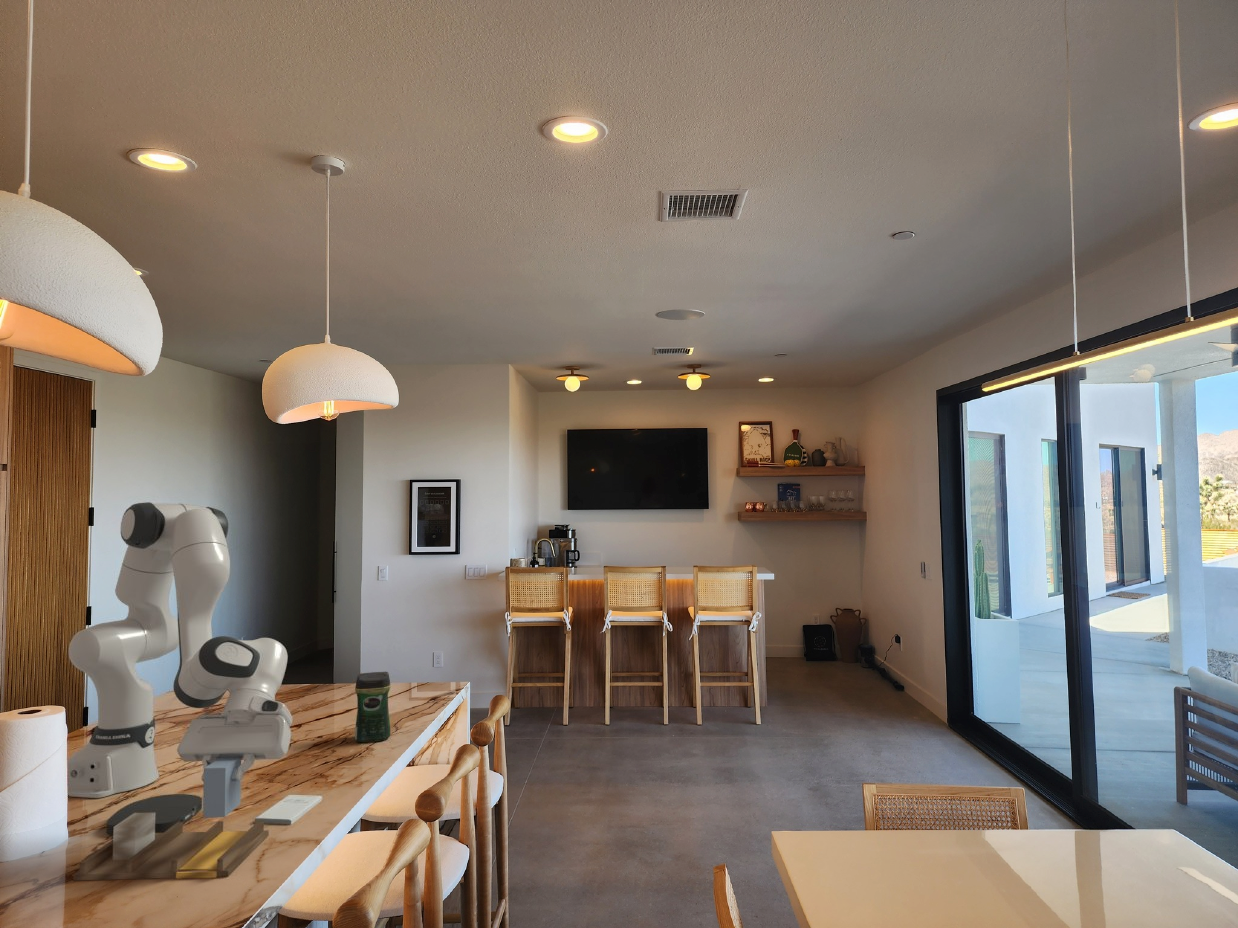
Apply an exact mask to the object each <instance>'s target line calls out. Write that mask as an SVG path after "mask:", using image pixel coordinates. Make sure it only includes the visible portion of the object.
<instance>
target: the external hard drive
mask: <svg viewBox="0 0 1238 928" xmlns="http://www.w3.org/2000/svg"><path fill="white" fill-rule="evenodd" d="M322 801H323V796H322V795H308V794H305V795H304V794H303V795H301V794H289V795H286V796H285V797H284V798H282V799H281V800H280V801H278V802H276V803H275V804H273V805H272V806H271V807H270V808H268V809H266V810H265V811H264V812H262V813H261V814H259V815H258V816H256V817H255V818H254V819H253V820H254V824H256V823H257V822H258V821H259V820H264V824H265V825H266V824H267V825H268V824H269V825H288V826H289V825H293V824H295V822H297V821H298V820H299V819H300V818H302V817H304V815H306V814H307V813H308V812H309V811H311V810H312V809H313V808H315V806H317V805H318V804H320V802H322Z"/></svg>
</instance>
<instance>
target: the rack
mask: <svg viewBox="0 0 1238 928" xmlns="http://www.w3.org/2000/svg"><path fill="white" fill-rule="evenodd" d="M264 824H265V823H264V820H259V821H258V822H257V823H254V825H252V826H251V827H250V828H249V829H248V830H232V831H231V830H230V831H229V830H228V831H227V830H226V831H225V830H224V821H223V820H221V821H220V820H219V821H217V822H216V823H214V824H213V825H212V826H211V827H210V828H208V830H206V831H187V832H185V831H183V827H184V824H183V822H177V823H176V824H175V825H173V826H172V827H171V828H169V829H168V830H167V831H165V832H164V833H155V813H134V814H132V815H131V816H129V817H128V818H126V819H125V820H123V821H122V822H120V823H119V824H117V825H116V826H114V832H113V835H112V836H113V838H112V840H111V841H109V842H107V844H105V845H103V846H102V847H100V848H99V849H97V850H95V852H93V853H92V854H90V855H89V856H88V857H86V858H85V859H83V860H81V861H80V862H79V870H78V871H77V872H75V873H74V874H73V875H72V876H73V878H72V879H73V881H101V880H103V881H104V880H106V881H108V880H109V881H110V880H139V879H141V880H144V879H176V880H177V879H178V880H179V879H183V880H184V879H216V878H218V877H219V878H221V877H222V878H224V877H225V878H226V877H228V878H229V876H230V875H232V873H233V872H234V871H235V870H236V869H237V868H238V867H239V866H240V865H241V864H242V863H243V862H244V861H245V860H246V859H248V857H249V856H250V855H251V854H253V852H254V851H255V850H256V849H257V848H258V847H259V846H260V845H261V844H262V843H263V842H264V841H265V840H266V839H267V838H268V837H269V835H270V833H269V831H270V830H269V829H268V830H267V829H266V830H264V828H265V825H264Z"/></svg>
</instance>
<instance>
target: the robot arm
mask: <svg viewBox="0 0 1238 928" xmlns="http://www.w3.org/2000/svg"><path fill="white" fill-rule="evenodd" d="M228 532H229V520H228V518H227V516H226V514H225V512H224V511H222V510H219V509H218V508H214V507H210V506H206V507H203V506H201V505H200V506H199V505H194V504H188V503H152V502H149V501H148V502H146V501H145V502H138V503H134V504H131V505H130V506H129V507H128V508H126V510H125V511H124V512H123V515H122V518H121V521H120V536H121V539H122V541H123V542H124V543H125V544H126V546H127V548H126V551H125V554H124V557H123V560H122V563H121V567H120V570H119V575H118V578H117V582H116V585H115V588H114V589H115V590H114V593H115V595H116V598H117V600H119V601H120V602H121V603H122V604H124V605H126V606H127V607H128V612H127V617H126V618H125V619H121V620H119V619H118V620H115V621H114V620H113V621H107V622H102V623H97V624H95V625H92V626H89V627H87V628H84V629H82V630H79V631H77V633H75V634H74V635H73V637H72V638H71V641H70V643H69V646H68V657H69V660H70V662H71V663H72V665H73V666H74V667H75V669H78V670H79V671H81V672H83V673H84V674H86V675H87V676H88V677H89V678H90V679H91V681H92V683H93V685H94V688H95V691H96V695H97V707H98V709H97V710H98V711H97V717H98V718H97V725H95V727H92V728H91V729H89V730H87V731H85V733H86V734H85V737H86V738H87V737H88V736H91V737H90V738H89V741H88V743H87V744H85V745H84V746H83V747H81V748H80V749H79V750H77V751H76V752H75V753H74V754H72V755H71V756H69V758H67V759H68V795H69V796H68V797H74V798H75V797H77V798H90V799H91V798H92V799H94V798H95V799H100V798H105V797H108V796H111V795H114V794H118V793H122V792H127V791H132V790H135V789H139V788H142V787H145V786H147V785H149V784H151V783H153V782H155V781H157V780H158V779H159V777H160V773H159V771H158V766H157V762H156V756H155V748H154V747H155V746H154V745H155V744H154V742H155V735H156V719H155V717H154V703H155V701H154V700H155V689H154V686H153V685H152V684H151V683H150V682H149V681H147V680H144V679H142V678H139V677H138V674H137V670H136V664H139V663H143V662H147V661H150V660H157V659H159V658H160V657H164V656H166V655H168V654H170V653H172V652H173V651H175V650H176V649H178V651H179V664H178V665H179V666H178V670H177V673H176V674H175V677H174V680H173V684H172V685H173V688H172V689H173V692H174V695H175V697H176V698H177V699H178V700H179V702H180V703H182V704H183V705H185V706H188V707H190V708H193V709H206V708H210V707H212V706H214V705H216V704H217V703H218V702H219V701H220V700H222V698H223V697H224V695H225V694H226V692H227V691H228V694H229V696H228V697H227V700H226V702H225V705H224V707H223V709H222V711H221V713H212V714H211V713H209V714H208V713H202V714H201V715H200V716H197V717H195V718H194V719H192V720H191V722H190V724H189V726H188V728H187V730H186V731H185V733H184V735H183V737H182V738H181V740H180V742H179V744H178V746H177V748H176V752H177V754H178V756H179V757H180V758H181V760H182V761H184V762H202V767H203V769H204V768H205V767H207V766H208V765H210V764H211V763H213V762H214V761H216V760H217V759H219V758H220V757H241V761H242V762H241V765H240V766H239V768H238V769H233V771H232V774H231V780H232V781H241V782H242V779H243V777H244V775H245V773H246V772H248V770H249V769H250V768H251V767H253V765H254V763H255V760H280V759H282V758H283V757H285V756H286V754H288V750H289V747H290V743H291V737H292V729H291V728H290V727H291V726H292V724H293V721H294V720H293V717H292V714H291V712H290V710H289V709H288V707H287V706H286V705H285V703H284V702H281V701H276V697H275V696H276V694H277V692H278V691H279V689H280V688H281V685H282V682H283V679H284V677H285V672H286V671H287V670H286V669H287V664H288V657H289V655H288V652H287V649H286V647H285V645H283V644H282V643H281V642H279V640H276V639H273V638H272V637H271V638H270V637H260V638H257V639H253V640H252V639H251V640H248V639H247V640H246V639H245V640H243V639H237V638H234V637H232V636H227V635H224V636H223V635H220V636H215V637H213V631H212V630H213V629H212V618H213V614H214V610H215V607H216V605H217V603H218V601H219V599H220V597H221V595H222V593H223V591H224V589H225V588H226V585H227V584H228V582H229V579H230V575H231V574H230V572H231V557H230V552H229V548H228V547H229V546H228V543H227V540H226V539H227V538H228V537H227V536H228ZM173 581H174V586H175V596H176V609H177V618H176V617H174V616H173V615H172V613H171V610H170V603H169V599H170V593H171V588H172V583H173ZM200 778H201V781H202V782H203V783H204V771H203V772H202V775H201V777H200Z"/></svg>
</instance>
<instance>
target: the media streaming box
mask: <svg viewBox="0 0 1238 928" xmlns="http://www.w3.org/2000/svg"><path fill="white" fill-rule="evenodd" d="M201 810H203V797H201V796H199V795H197V794H185V793H178V794H177V793H173V794H171V793H170V794H169V793H168V794H161V795H155V796H151V797H146V798H142V799H139V800H136V801H133V802H130V803H129V804H126V805H125V806H123V807H122V808H120V809H118V810H117V811H116V812H114V813H113V814H112V815H111V816H110V817H109V818H108V819H107V821H106V834H107V835H109V836H113V832H114V826H116V825H117V824H119V823H120V822H122V821H123V820H125V819H126V818H128V817H129V816H131V815H132V814H134V813H155V833H164V832H165V831H167V830H168V829H169V828H171V827H172V826H173V825H175V824H176V823H177V822H183V825H184V824H186V823H187V822H188V821H190V820H191V819H192V818H194V817H195V816H196V815H197V814H198V813H199V812H200V811H201Z"/></svg>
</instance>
